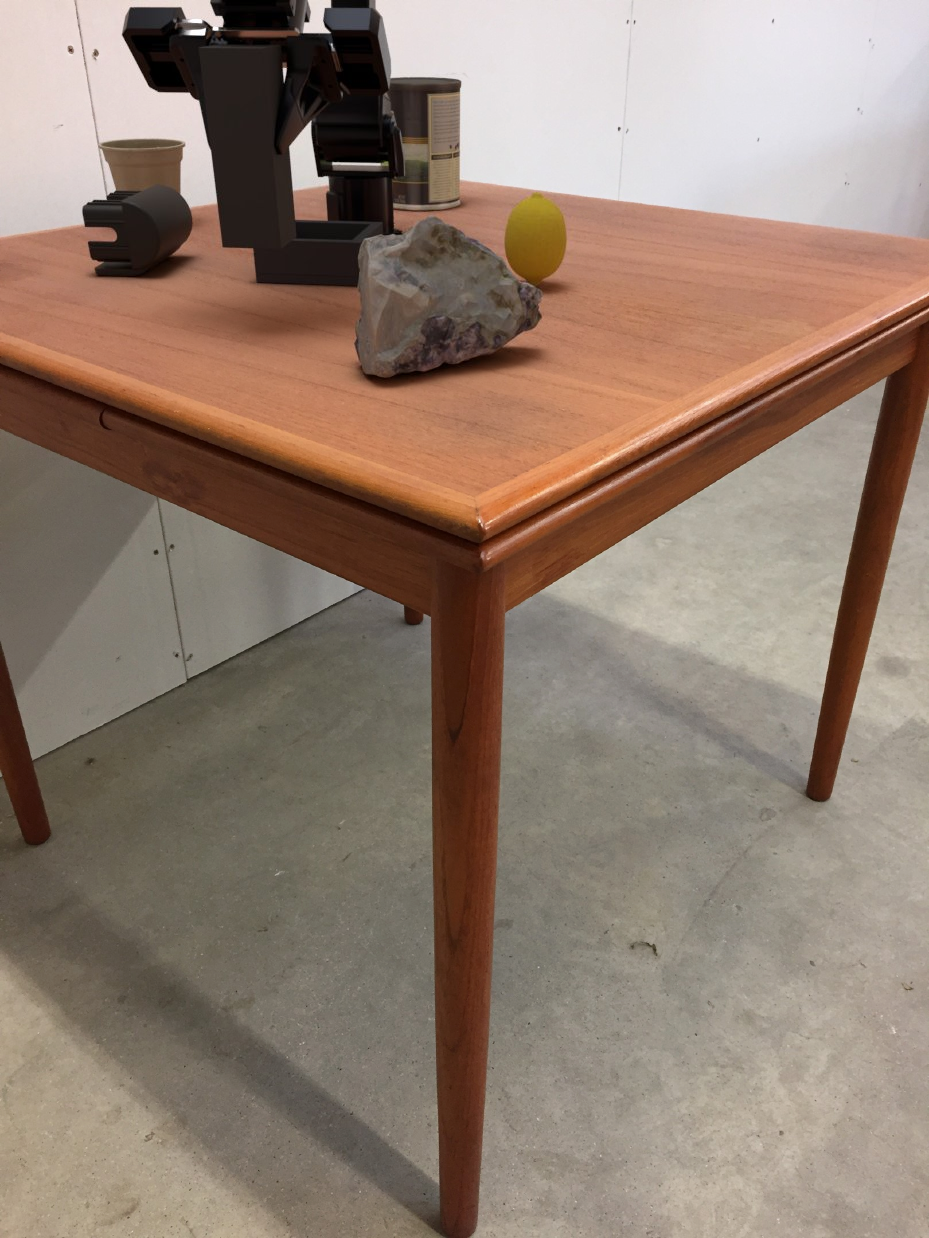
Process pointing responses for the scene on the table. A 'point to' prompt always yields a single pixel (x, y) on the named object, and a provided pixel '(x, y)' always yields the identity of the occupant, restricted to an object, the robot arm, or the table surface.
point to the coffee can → (427, 142)
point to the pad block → (248, 145)
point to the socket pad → (317, 254)
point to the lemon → (535, 238)
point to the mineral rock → (436, 300)
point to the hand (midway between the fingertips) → (244, 150)
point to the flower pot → (144, 163)
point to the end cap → (138, 229)
